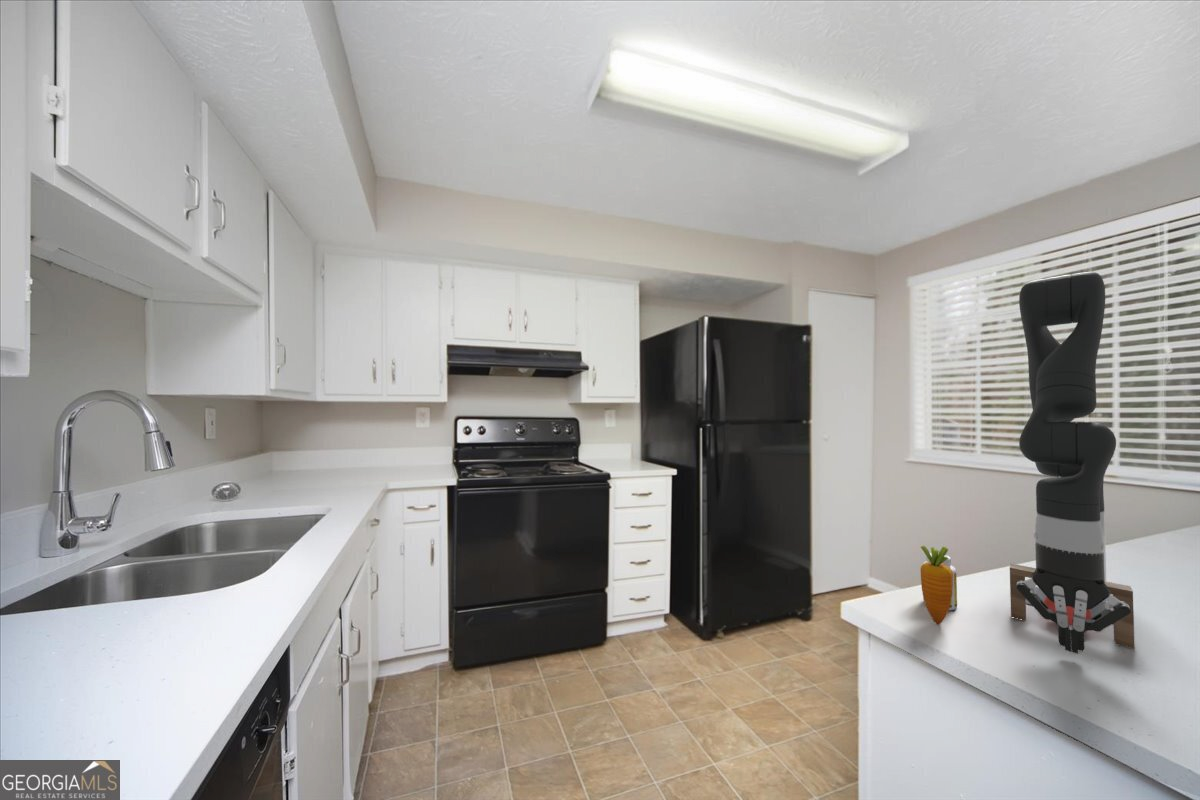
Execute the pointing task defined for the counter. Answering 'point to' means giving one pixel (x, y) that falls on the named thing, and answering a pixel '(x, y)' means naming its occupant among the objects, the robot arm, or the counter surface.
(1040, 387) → the robot arm
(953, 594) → the supplement bottle
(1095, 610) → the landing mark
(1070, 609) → the ball
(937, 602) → the carrot
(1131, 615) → the bridge
